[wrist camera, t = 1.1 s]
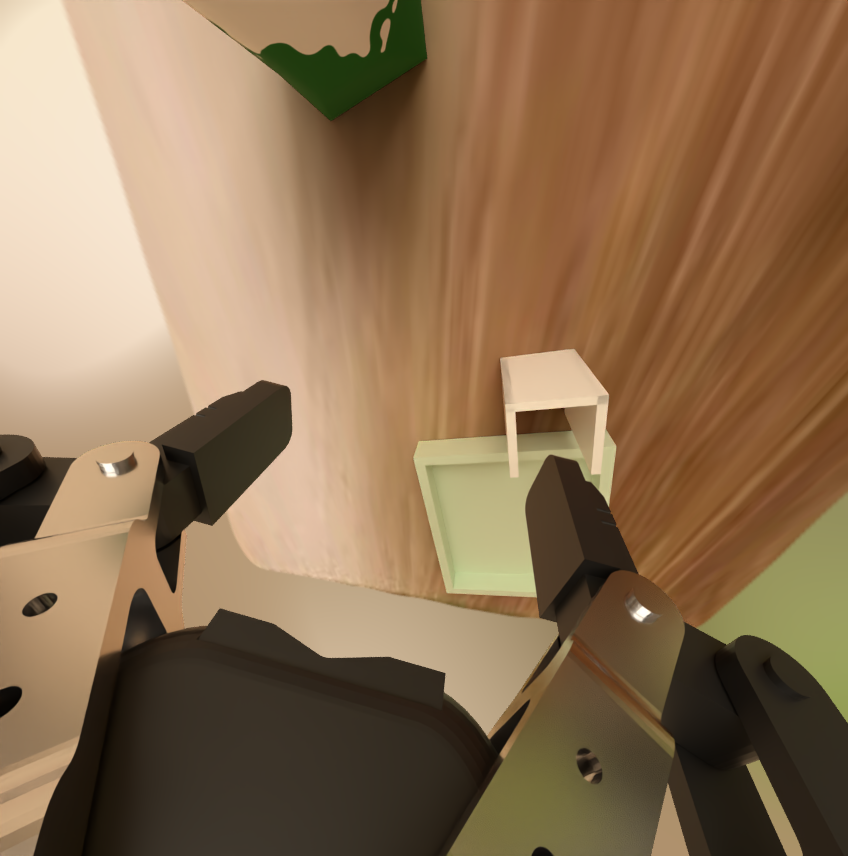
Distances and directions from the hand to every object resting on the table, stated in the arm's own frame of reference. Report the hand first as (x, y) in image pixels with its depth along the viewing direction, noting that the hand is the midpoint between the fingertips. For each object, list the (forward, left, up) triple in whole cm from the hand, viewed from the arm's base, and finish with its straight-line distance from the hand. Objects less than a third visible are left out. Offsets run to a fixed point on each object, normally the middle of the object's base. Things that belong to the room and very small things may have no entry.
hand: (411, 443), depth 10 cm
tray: (-3, +23, -20) cm, 31 cm away
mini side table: (-6, +7, -20) cm, 22 cm away
